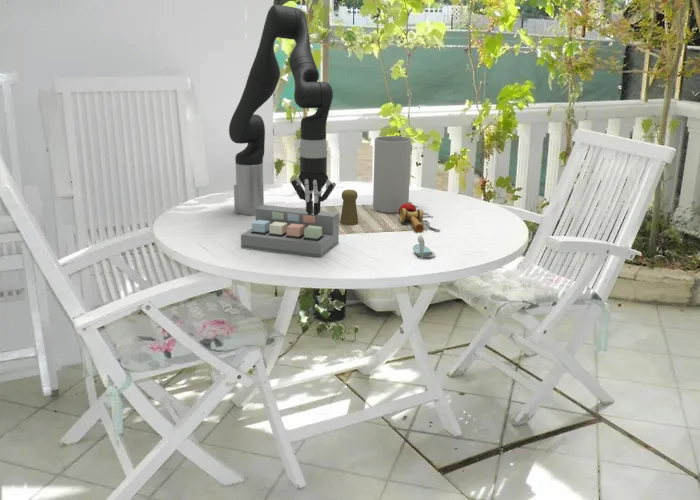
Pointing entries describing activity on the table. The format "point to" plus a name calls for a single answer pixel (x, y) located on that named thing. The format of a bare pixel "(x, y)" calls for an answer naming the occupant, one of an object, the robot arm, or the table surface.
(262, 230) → the key blue
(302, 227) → the key coral
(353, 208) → the olive ball-ended cylinder
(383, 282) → the table surface
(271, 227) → the key cream
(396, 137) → the cylinder vase
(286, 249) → the keypad
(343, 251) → the table surface
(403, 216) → the kendama
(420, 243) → the pacifier
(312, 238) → the key sage
